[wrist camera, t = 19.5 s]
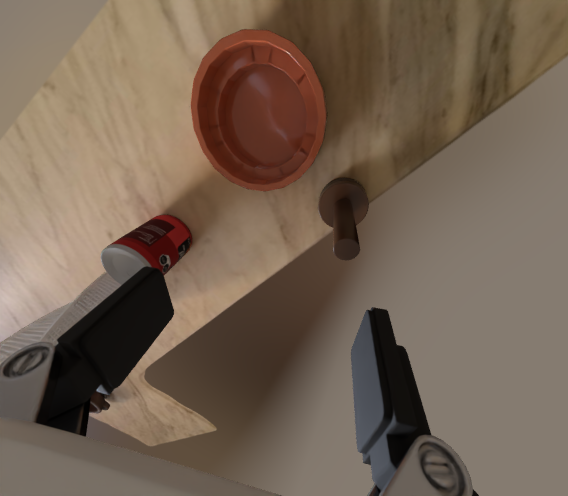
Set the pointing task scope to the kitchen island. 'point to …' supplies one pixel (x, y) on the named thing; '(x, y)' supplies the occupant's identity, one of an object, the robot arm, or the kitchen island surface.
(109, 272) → the canned food
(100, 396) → the dish
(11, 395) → the robot arm
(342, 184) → the brown coffee tamper
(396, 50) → the kitchen island surface
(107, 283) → the skyscraper
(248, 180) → the bowl
